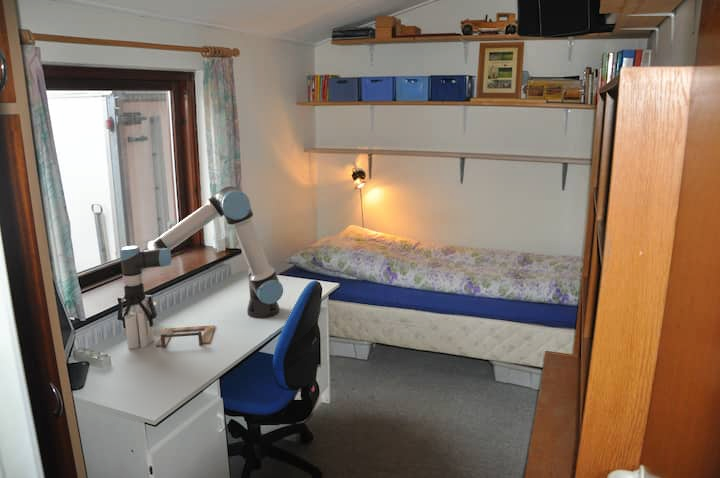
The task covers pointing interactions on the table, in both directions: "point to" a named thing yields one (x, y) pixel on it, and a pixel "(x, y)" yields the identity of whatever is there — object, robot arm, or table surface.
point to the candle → (138, 327)
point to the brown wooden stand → (187, 334)
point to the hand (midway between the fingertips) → (139, 334)
